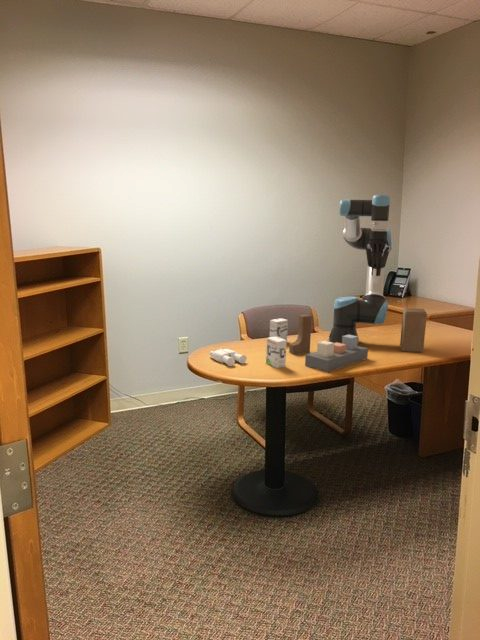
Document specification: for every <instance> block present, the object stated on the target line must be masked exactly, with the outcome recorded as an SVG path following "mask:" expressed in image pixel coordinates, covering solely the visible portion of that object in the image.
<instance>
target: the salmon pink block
mask: <svg viewBox="0 0 480 640" xmlns="http://www.w3.org/2000/svg"><path fill="white" fill-rule="evenodd" d="M344 352H346V344H341V343H337V342H336V343H334V353H337V354H340V353H344Z"/></svg>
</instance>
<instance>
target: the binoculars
mask: <svg viewBox="0 0 480 640" xmlns="http://www.w3.org/2000/svg"><path fill="white" fill-rule="evenodd" d="M209 356H210V357H212V358H213V360H214V361H217V362H219V363H221V364H224V363H225V364H226V365H227V366H229V367H232V366H234V365H235V364H236V363H235V362H239V363H240V364H241V365H243V364H245V363H246V362H247V356H246V354H240V353H239V352H237V351H235V350H232V349H229V348H224V349H223V348H218V349H217V350H215V351H213V350H211V351H210V352H209Z"/></svg>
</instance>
